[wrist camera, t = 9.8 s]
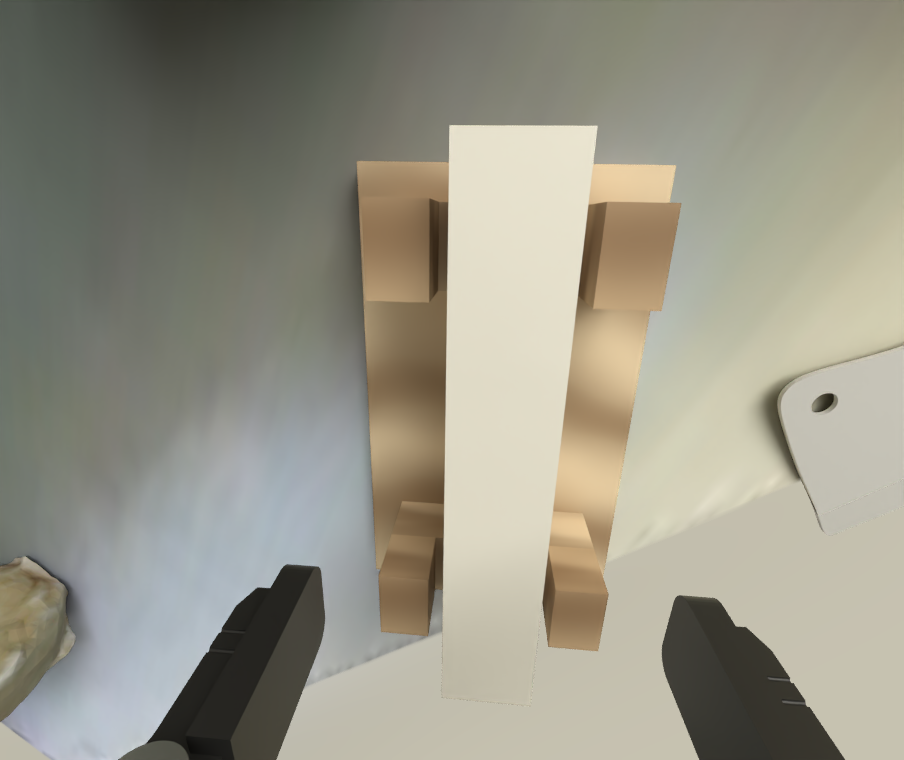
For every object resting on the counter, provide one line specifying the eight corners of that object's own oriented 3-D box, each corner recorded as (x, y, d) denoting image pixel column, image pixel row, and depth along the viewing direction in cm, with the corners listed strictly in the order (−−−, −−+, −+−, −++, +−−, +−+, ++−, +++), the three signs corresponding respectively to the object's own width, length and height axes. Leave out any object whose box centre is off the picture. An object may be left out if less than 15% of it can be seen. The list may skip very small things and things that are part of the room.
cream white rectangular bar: (523, 619, 21) (530, 706, 17) (450, 613, 21) (441, 697, 17) (568, 151, 14) (597, 125, 10) (460, 150, 14) (449, 125, 11)
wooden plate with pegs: (594, 565, 24) (629, 680, 18) (382, 549, 25) (348, 654, 19) (661, 169, 18) (752, 142, 11) (367, 165, 18) (305, 138, 12)
